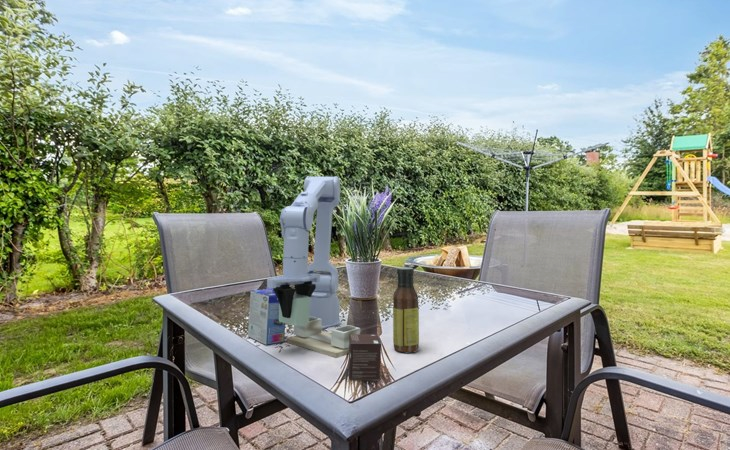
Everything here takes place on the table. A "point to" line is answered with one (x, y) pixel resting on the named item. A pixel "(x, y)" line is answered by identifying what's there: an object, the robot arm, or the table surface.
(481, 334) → the table surface
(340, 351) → the board
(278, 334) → the ink cartridge box
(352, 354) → the box
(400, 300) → the sauce bottle
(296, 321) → the block
